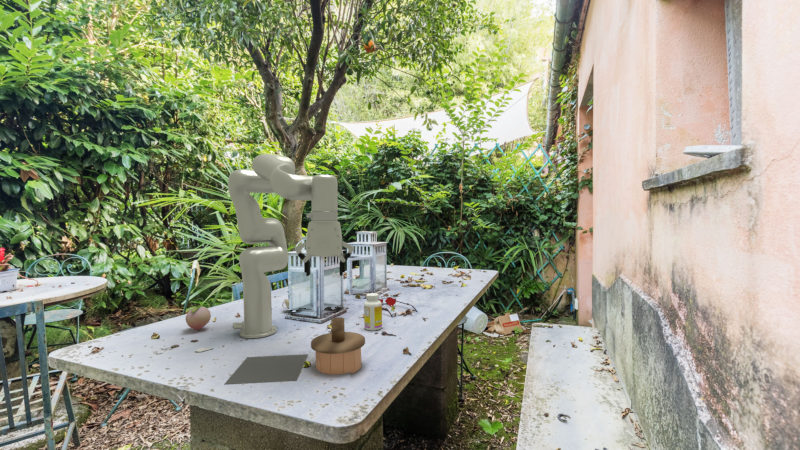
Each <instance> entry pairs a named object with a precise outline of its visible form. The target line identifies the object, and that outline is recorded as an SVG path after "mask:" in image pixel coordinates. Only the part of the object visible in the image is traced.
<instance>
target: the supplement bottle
mask: <svg viewBox="0 0 800 450" xmlns="http://www.w3.org/2000/svg"><path fill="white" fill-rule="evenodd" d="M379 295H380V294H379V293H376V292H375V293H373V292H371V293H367V294H366V295H365V296H366V297H365V298H366V301H364V303H363V314H364V315H363V316H364V317H363V320H364V321H363V323H364V324H363V325H364V329H365V330H367V331H370V332H371V331H379V330H381V329H382V328H383V309H382V308H383V306H382V304H383V303H381V301H379V300H378V299H380V298H379V297H380V296H379Z"/></svg>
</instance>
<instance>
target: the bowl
mask: <svg viewBox="0 0 800 450" xmlns="http://www.w3.org/2000/svg"><path fill="white" fill-rule="evenodd" d="M361 368H362V347H361V348H359V349H357V350H354V351H351V352H346V353H339V354H326V353H320V352H316V351H315V369H316V370H317V371H319V372H320V373H323V374H328V375H342V374H343V375H344V374H347V373H350V375H352V374H355V373H356V372H358V371H359V370H361Z"/></svg>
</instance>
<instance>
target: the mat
mask: <svg viewBox="0 0 800 450" xmlns="http://www.w3.org/2000/svg"><path fill="white" fill-rule="evenodd" d="M308 357H309V354H308V353H307V354H288V355H284V354H283V355H263V356H247V357H246V358H245V359H244V360H243V362H242V363H241V364H240V365H239V366H238V367H237V369H235V371H233V373H232V374H231V376H229V378H228V379H227V380H226V381H225V382H224V383H223V385H228V386H229V385H240V384H241V385H242V384H243V385H244V384H245V385H246V384H260V383H261V384H262V383H263V384H264V383H280V382H281V383H282V382H297V381H298V379H299V377H300V375H301V372H302V369H303V368H304V365H305V363H306V361H307V358H308Z"/></svg>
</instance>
